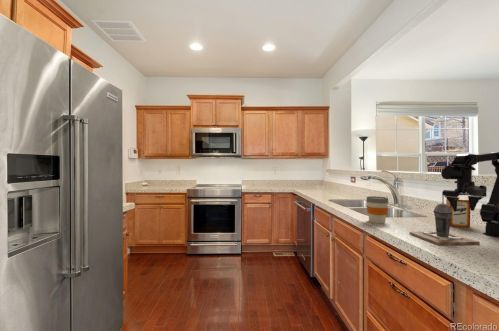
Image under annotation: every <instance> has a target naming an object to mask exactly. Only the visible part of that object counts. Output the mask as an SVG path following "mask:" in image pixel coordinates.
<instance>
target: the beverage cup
mask: <svg viewBox="0 0 499 331" xmlns="http://www.w3.org/2000/svg"><path fill="white" fill-rule="evenodd" d="M441 196H442V197H441V198H442V203H439V204H437V205H436V206H435V207H434V209H433V215H434V220H435V231H436V232H437V236H439V237H444V238H448V237H449V232H450V230H451V226H450V222H451V217H452V210H451V208H450V207H449V206H448V205H446V203H445V202H444V201H445V200H444V198H445V196H444V195H441Z"/></svg>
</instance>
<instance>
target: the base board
mask: <svg viewBox="0 0 499 331" xmlns="http://www.w3.org/2000/svg"><path fill="white" fill-rule="evenodd" d="M410 234H411V236H413V237H415V238H419V239H421V240H424V241H425V242H428V241H429V242H428V243H431V244H433V243H434V245H436V244H437V246H459V245H460V246H467V245H469V246H470V245H480V241H479V240H475V239H473V238H469V237H465V236H463V235H460V234H456V233H452V232H450V231H449V237H448V238H444V237H439V236H437V232H436V230H435V231H434V230H433V231H409V235H410Z"/></svg>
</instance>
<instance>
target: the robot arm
mask: <svg viewBox="0 0 499 331" xmlns="http://www.w3.org/2000/svg"><path fill="white" fill-rule="evenodd" d="M489 161H491V165H492V166H493V167H494V172H495V174H496V178H495V181H494V185H493V187H492V190H491V194H490V196H489V200H488V202H486V203H482V204H481V206H480V207H481V208H479V215H480V219H481V221H482V222H483V223H485V228H484V229H485V230H484V231H485V232H482V234H483V235H486V236H491V237H495V238H499V151H492V152H491V151H490V152H487V153H480V154H479V153H478V154H475V153H474V154H473V153H466V154H465V153H463V154H461V153H460V154H456V155H455V157H454V159H453V160H452V162H451V163H450V165H445V166H444V168H443V169H442V171H441V173H440V175H441V178H442V179H444V180H454V184H456V188H454V190H453V189H452V190H451V189H444V190H443V191H442V192H441V194H442V195H444V198H447V199H448V201H449V202H450V204H451V206H452V208H453V210H454V211H456V210H457V200H458V199H460V197H459V196H467V199H468V200H469V204H470V211H472V212H474V211H475V209H476V206H477V205H478V202H479V201H481V200H482V199H484V198H486V197H487V186H486V185H485V184H483V185H480V184H479V185H476V184H475V181H472V180H473V171H476V168H475V167H474V166H475V165H477V164H478V163H483V162H489ZM442 195H441V196H442Z"/></svg>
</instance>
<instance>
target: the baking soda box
mask: <svg viewBox="0 0 499 331" xmlns="http://www.w3.org/2000/svg"><path fill="white" fill-rule="evenodd" d="M445 198H446V197H445ZM445 201H446V203H445V204H446V205H448V206H449V207H450V208H451V210H452V217H451V222H450V227H456V228H457V227H458V228H468V227H470V228H471V209H470V204H469V199H468V198H459V199H458V200H457V210H456V211H454V210H453V208H452V206H451V204H450V202H449V201H448V199H447V198H446V200H445Z"/></svg>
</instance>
